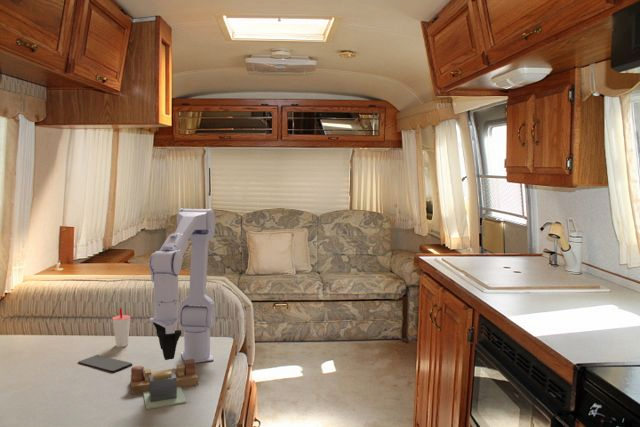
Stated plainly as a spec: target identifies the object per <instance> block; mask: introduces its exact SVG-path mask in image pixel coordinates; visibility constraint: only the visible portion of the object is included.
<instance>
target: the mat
mask: <svg viewBox="0 0 640 427" xmlns="http://www.w3.org/2000/svg"><path fill="white" fill-rule="evenodd" d="M142 394H143V398H144V399H143V400H144V404H145V409H146V410H150V409H157V408H162V407H163V408H164V407H170V406H175V405H181V404H186V403H187V399H186V398H185V395H184V391H183V389H182V387H177V398H175V399H168V400H162V401H156V402H150V397H149V391H148V392H143V393H142Z"/></svg>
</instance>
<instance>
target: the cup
mask: <svg viewBox="0 0 640 427" xmlns="http://www.w3.org/2000/svg"><path fill="white" fill-rule="evenodd" d="M122 308H123V307H120V308H119V315H115V316H113V317H112V319H111V320H112V323H113V324H112V325H113V331H114V339H115V346H116V347H117V348H124V347H127V346H128V345H129V338H130V336H129V335H130V325H131V324H130V323H131V316H130V315H127V314H123V309H122Z"/></svg>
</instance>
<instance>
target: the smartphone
mask: <svg viewBox="0 0 640 427" xmlns="http://www.w3.org/2000/svg"><path fill="white" fill-rule="evenodd" d="M77 364H79V365H82V366H86V367H90V368H92V369H95V370H96V369H97V370H100V371H104V372H106V373H109V374H110V373H111V374H115V373H118V372H121V371H122V370H125V369H127V368H129V367H132V366H133V363H132V362H128V361H125V360H120V359H116V358H113V357H109V356H104V355H102V354H101V355H100V354H96V355H93V356H90V357H87V358H84V359H81V360H79V361H78V362H77Z"/></svg>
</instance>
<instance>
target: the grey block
mask: <svg viewBox="0 0 640 427" xmlns="http://www.w3.org/2000/svg"><path fill="white" fill-rule="evenodd" d="M149 397H150V402H156V401H162V400H168V399H175V398H177V378H176V375H175V372H171V371H170V372H163V373H156V374H154V375H149Z"/></svg>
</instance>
